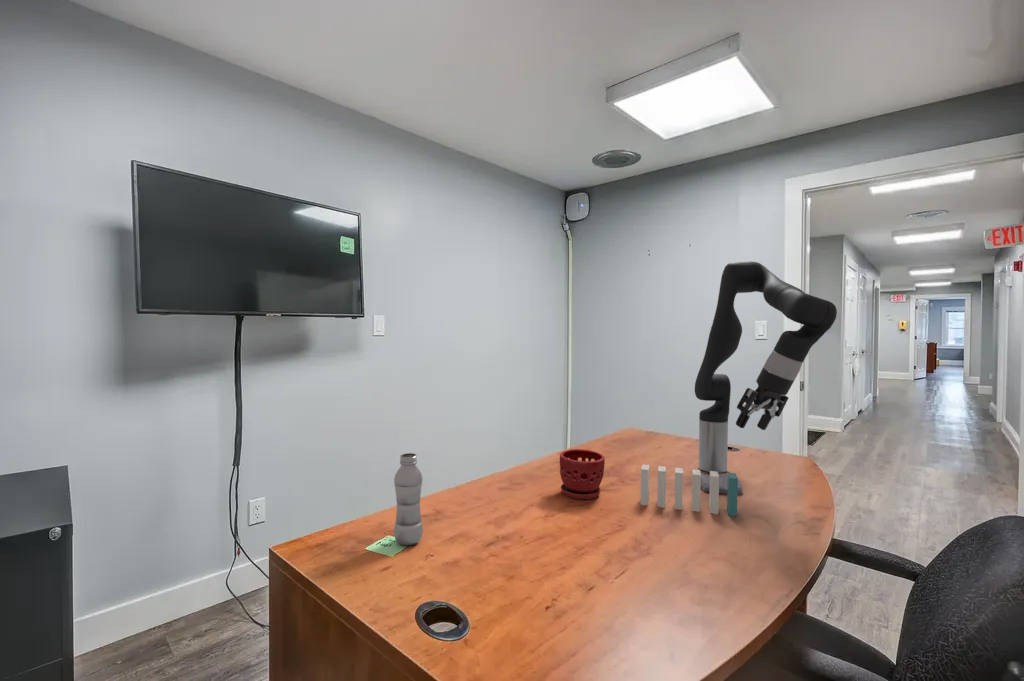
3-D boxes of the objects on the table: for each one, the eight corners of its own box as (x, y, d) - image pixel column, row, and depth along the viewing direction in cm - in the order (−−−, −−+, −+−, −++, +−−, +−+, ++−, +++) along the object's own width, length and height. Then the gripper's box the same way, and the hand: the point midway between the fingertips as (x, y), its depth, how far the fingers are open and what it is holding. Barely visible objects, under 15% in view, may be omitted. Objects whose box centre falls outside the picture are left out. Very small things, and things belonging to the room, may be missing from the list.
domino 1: (640, 504, 135) (640, 469, 135) (641, 498, 140) (642, 464, 139) (647, 505, 134) (648, 469, 134) (649, 499, 139) (649, 465, 139)
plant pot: (553, 498, 139) (554, 457, 139) (566, 485, 152) (566, 447, 151) (598, 505, 134) (599, 462, 134) (608, 490, 147) (608, 451, 146)
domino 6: (728, 515, 128) (729, 477, 127) (727, 509, 132) (727, 472, 132) (737, 516, 127) (737, 478, 127) (735, 509, 132) (735, 473, 131)
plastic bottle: (398, 551, 106) (398, 460, 106) (390, 539, 112) (390, 453, 112) (426, 545, 109) (426, 457, 109) (418, 533, 115) (418, 450, 115)
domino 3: (674, 509, 132) (675, 472, 132) (674, 502, 137) (675, 467, 137) (682, 510, 131) (682, 473, 131) (682, 503, 136) (682, 468, 136)
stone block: (745, 501, 144) (733, 483, 153) (746, 486, 143) (734, 470, 152) (704, 501, 145) (695, 483, 155) (704, 486, 144) (695, 470, 154)
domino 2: (657, 506, 134) (657, 470, 133) (658, 500, 138) (658, 466, 138) (664, 507, 133) (665, 471, 133) (665, 501, 138) (666, 466, 137)
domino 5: (710, 513, 129) (710, 476, 129) (709, 506, 134) (709, 470, 134) (718, 514, 128) (719, 476, 128) (717, 507, 133) (717, 471, 133)
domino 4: (692, 511, 131) (692, 474, 130) (691, 504, 135) (692, 469, 135) (700, 512, 130) (700, 475, 130) (699, 505, 135) (700, 469, 134)
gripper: (784, 368, 128) (756, 421, 132) (749, 362, 121) (720, 417, 126) (809, 382, 121) (779, 437, 126) (773, 376, 115) (743, 434, 120)
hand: (750, 427), depth 126 cm, fingers open, 8 cm apart
